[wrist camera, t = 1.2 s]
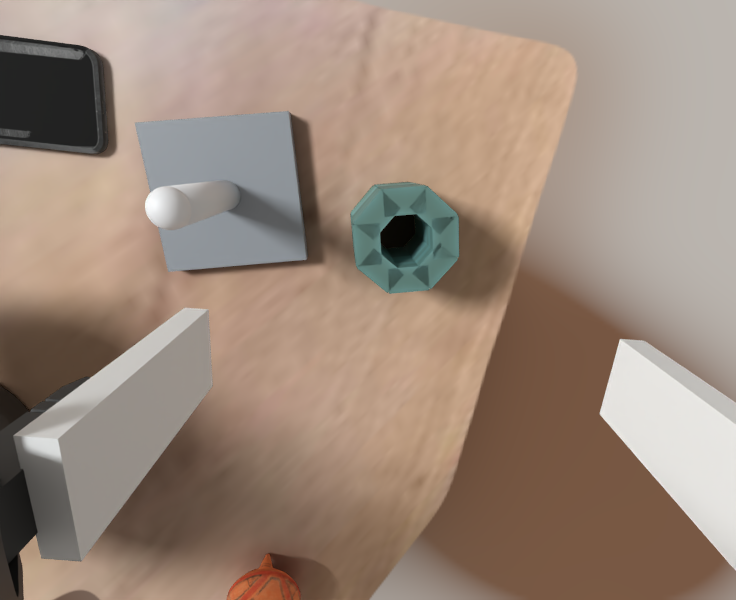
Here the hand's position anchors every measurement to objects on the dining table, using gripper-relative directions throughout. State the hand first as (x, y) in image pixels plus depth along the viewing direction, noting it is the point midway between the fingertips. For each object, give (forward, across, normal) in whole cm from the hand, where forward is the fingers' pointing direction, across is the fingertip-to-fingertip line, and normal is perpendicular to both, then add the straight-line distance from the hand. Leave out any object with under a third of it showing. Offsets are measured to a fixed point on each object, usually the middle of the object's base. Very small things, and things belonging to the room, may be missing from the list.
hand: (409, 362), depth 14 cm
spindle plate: (+25, +14, -3) cm, 29 cm away
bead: (+26, 0, -1) cm, 26 cm away
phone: (+24, +31, -9) cm, 40 cm away
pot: (+25, +11, +40) cm, 49 cm away
